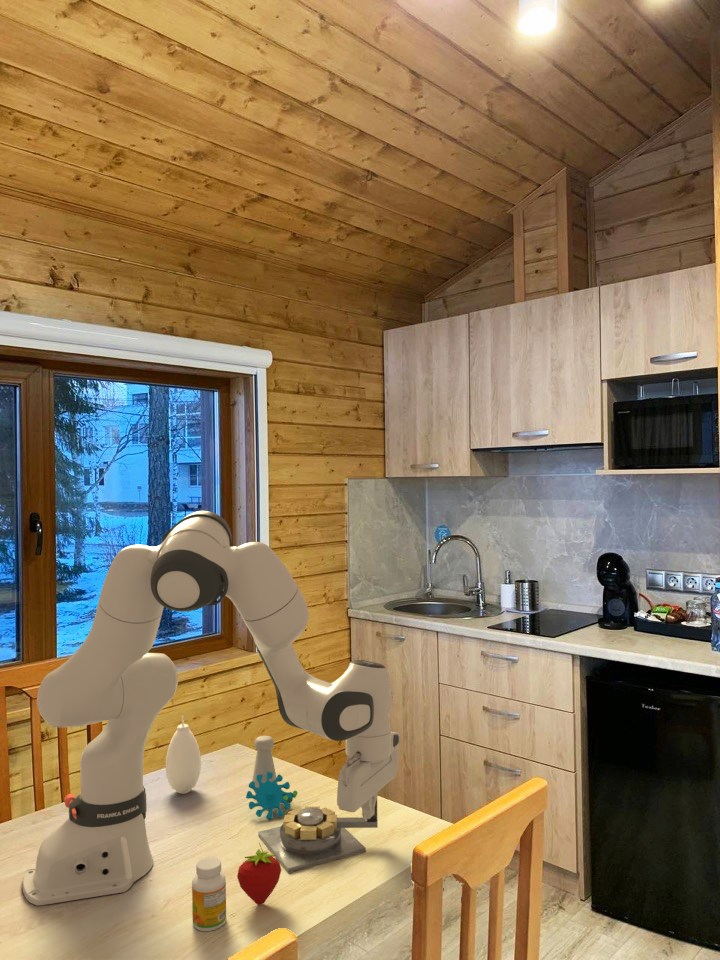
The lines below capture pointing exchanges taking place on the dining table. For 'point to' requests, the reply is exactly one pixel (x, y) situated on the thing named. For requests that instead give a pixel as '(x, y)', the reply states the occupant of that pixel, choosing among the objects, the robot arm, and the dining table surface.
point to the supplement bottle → (208, 895)
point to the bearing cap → (309, 844)
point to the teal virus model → (270, 795)
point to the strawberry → (259, 876)
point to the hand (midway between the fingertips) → (368, 816)
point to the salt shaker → (264, 759)
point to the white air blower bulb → (183, 760)
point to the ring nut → (324, 824)
